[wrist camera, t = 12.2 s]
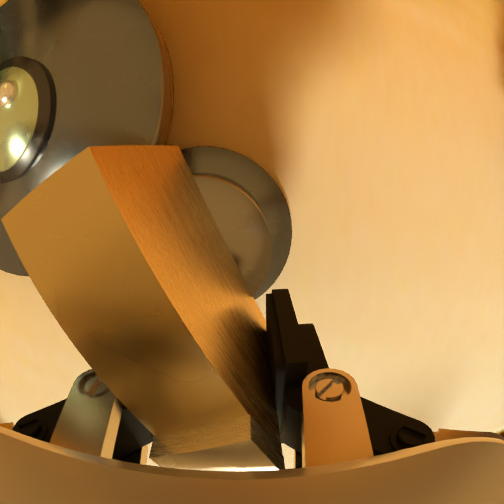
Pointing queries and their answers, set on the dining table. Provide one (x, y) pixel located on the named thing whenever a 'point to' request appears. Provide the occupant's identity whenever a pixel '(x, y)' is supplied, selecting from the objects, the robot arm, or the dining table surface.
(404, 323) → the dining table surface
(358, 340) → the dining table surface
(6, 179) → the plate
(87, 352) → the knob
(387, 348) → the dining table surface
